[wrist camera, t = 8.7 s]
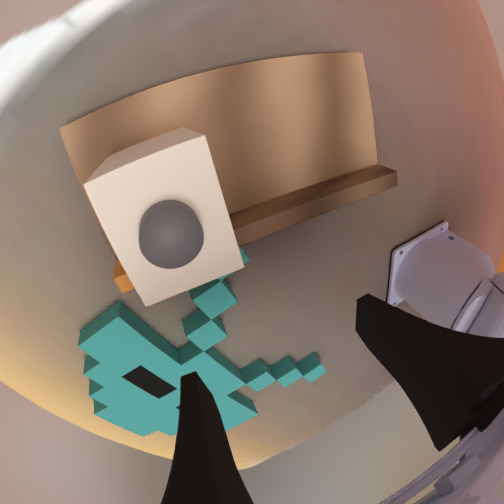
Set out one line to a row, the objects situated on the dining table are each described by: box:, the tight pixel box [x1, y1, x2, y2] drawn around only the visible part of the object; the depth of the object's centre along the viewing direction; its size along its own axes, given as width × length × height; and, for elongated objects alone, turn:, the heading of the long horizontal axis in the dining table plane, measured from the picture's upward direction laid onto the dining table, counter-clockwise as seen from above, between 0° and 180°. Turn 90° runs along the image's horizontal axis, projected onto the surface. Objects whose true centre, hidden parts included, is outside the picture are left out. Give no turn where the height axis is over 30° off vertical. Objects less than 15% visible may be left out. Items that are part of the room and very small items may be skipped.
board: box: [59, 53, 397, 294], centre depth 14 cm, size 18×9×4 cm, turn 104°
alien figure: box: [78, 246, 327, 436], centre depth 23 cm, size 20×2×20 cm
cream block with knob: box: [83, 127, 244, 307], centre depth 11 cm, size 4×5×7 cm
